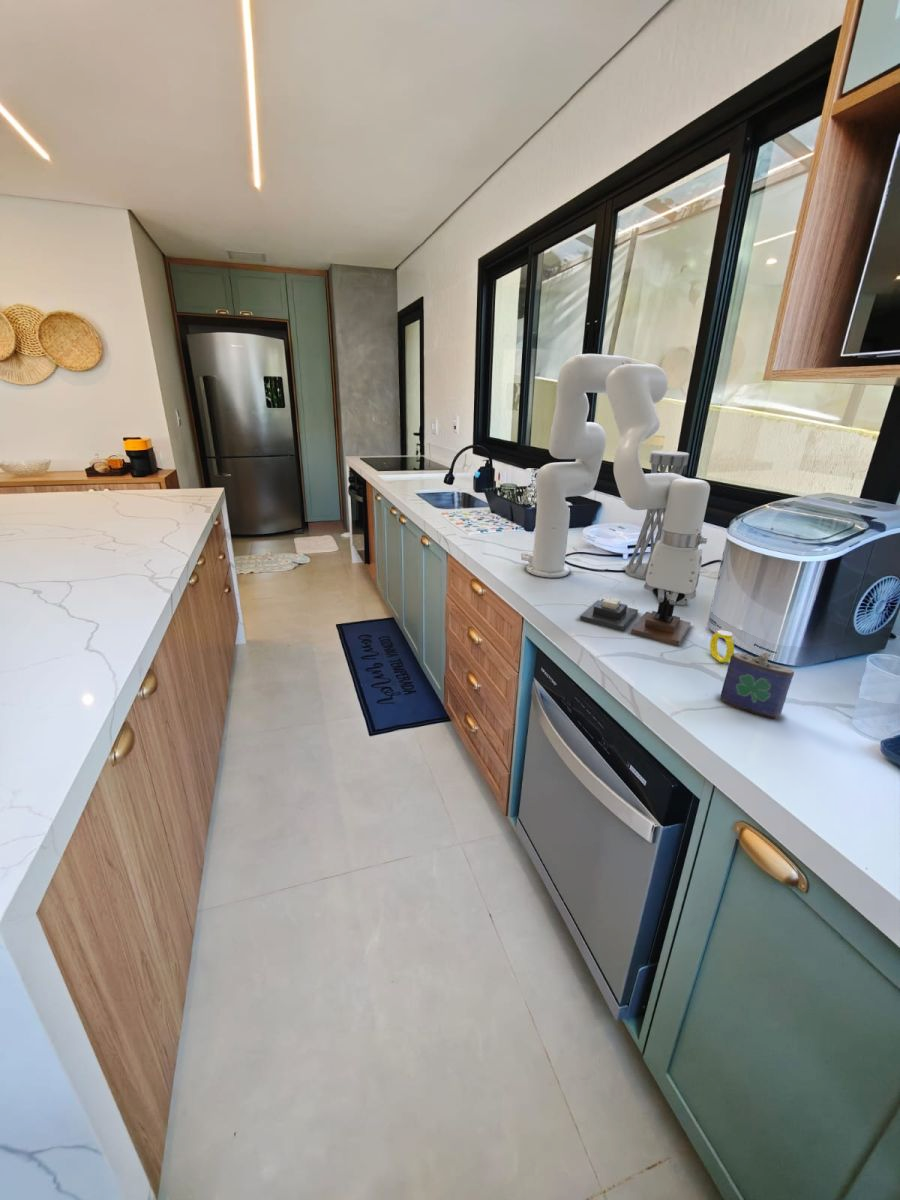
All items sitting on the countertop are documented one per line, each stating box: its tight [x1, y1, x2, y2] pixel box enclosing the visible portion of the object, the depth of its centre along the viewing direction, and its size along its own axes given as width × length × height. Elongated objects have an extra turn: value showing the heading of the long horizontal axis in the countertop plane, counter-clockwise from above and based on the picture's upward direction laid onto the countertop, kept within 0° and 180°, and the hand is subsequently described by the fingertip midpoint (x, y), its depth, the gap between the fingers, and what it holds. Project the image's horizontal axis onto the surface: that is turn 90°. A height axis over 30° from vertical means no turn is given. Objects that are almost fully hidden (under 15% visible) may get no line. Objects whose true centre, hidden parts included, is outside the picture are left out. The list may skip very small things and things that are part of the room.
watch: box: [709, 629, 735, 663], centre depth 101 cm, size 6×3×6 cm, turn 4°
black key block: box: [579, 598, 639, 632], centre depth 120 cm, size 10×12×3 cm
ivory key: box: [602, 596, 621, 610], centre depth 119 cm, size 3×3×2 cm
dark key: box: [654, 614, 672, 623], centre depth 114 cm, size 3×3×2 cm
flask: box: [719, 651, 795, 720], centre depth 85 cm, size 9×3×11 cm, turn 51°
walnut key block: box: [630, 610, 692, 647], centre depth 114 cm, size 10×12×3 cm
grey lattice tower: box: [624, 450, 690, 581], centre depth 144 cm, size 14×13×35 cm
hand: (664, 617), depth 113 cm, fingers closed
